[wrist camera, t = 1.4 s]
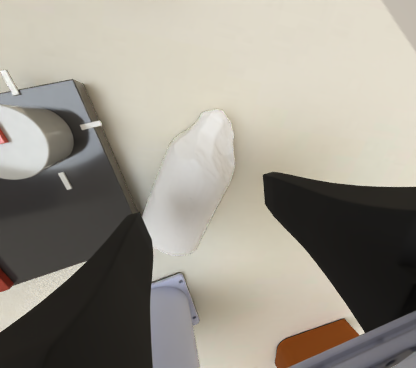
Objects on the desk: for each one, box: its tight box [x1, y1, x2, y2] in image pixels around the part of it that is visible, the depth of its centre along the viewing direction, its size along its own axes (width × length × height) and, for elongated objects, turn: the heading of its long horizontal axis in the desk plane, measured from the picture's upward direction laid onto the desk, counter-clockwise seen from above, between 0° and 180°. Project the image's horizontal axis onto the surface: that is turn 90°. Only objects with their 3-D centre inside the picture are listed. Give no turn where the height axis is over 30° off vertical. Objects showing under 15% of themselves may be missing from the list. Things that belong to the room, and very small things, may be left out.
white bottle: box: [142, 109, 235, 256], centre depth 16 cm, size 6×12×6 cm, turn 156°
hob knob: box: [0, 104, 74, 180], centre depth 11 cm, size 4×4×4 cm
